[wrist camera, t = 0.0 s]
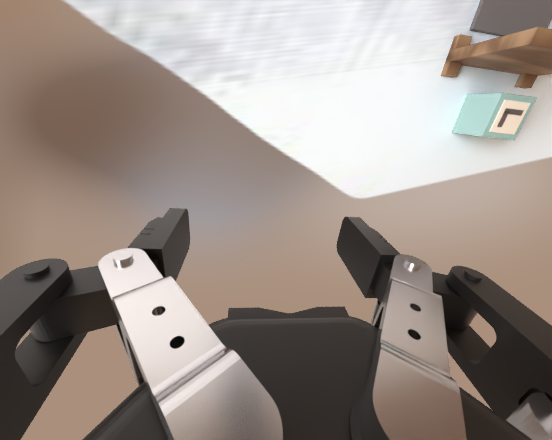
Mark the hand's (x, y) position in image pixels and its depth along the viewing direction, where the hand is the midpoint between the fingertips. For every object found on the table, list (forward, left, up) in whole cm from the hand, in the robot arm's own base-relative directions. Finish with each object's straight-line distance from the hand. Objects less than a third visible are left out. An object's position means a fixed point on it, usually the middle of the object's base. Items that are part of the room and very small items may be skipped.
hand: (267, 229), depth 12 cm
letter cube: (-8, +38, -29) cm, 49 cm away
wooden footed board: (-15, +37, -29) cm, 50 cm away
